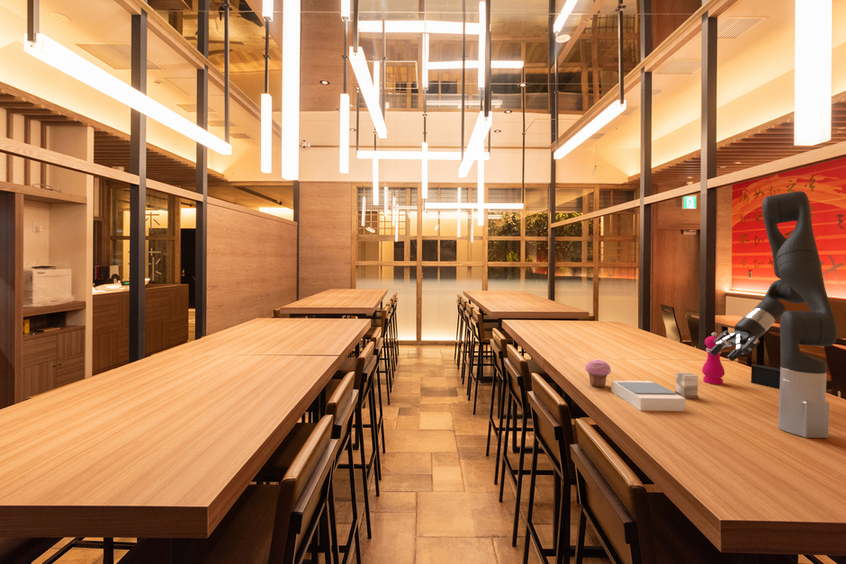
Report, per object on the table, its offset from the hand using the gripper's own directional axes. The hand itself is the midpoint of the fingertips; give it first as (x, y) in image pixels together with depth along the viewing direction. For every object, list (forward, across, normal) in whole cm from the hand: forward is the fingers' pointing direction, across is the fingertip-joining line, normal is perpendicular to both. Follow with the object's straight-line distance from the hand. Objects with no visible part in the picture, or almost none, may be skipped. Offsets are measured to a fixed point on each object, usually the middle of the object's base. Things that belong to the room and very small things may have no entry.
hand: (720, 356), depth 139 cm
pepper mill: (+3, -18, +18) cm, 25 cm away
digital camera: (-11, -15, +32) cm, 37 cm away
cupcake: (+37, -12, -16) cm, 42 cm away
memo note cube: (+18, 0, +2) cm, 18 cm away
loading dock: (+30, +5, -10) cm, 32 cm away
